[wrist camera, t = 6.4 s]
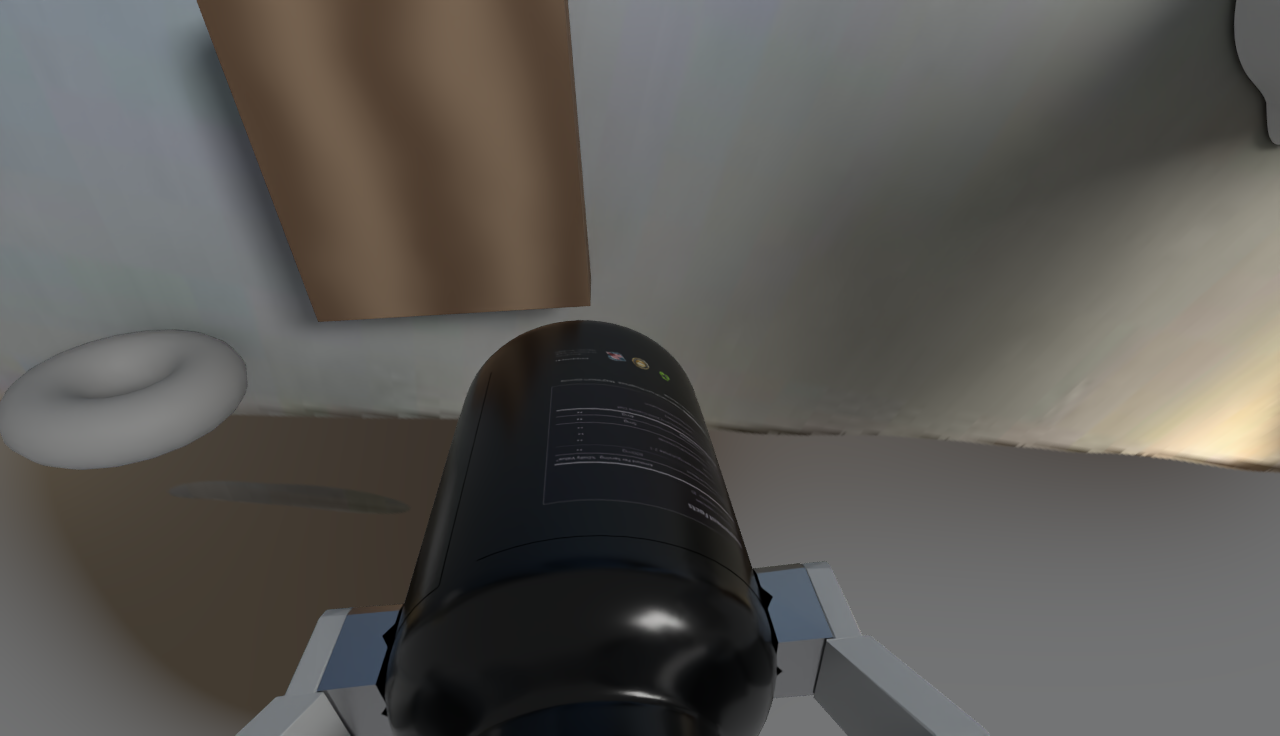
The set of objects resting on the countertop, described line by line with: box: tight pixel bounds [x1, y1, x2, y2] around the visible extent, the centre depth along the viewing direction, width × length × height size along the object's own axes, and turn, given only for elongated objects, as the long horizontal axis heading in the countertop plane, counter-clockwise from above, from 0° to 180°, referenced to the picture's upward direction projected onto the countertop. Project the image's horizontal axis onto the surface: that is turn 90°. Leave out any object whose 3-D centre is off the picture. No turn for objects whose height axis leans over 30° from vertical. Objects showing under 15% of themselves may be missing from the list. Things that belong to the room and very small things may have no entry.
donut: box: [0, 330, 247, 470], centre depth 29 cm, size 10×4×10 cm, turn 86°
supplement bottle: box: [385, 320, 777, 736], centre depth 12 cm, size 7×7×12 cm
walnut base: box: [197, 0, 591, 322], centre depth 27 cm, size 14×14×4 cm
